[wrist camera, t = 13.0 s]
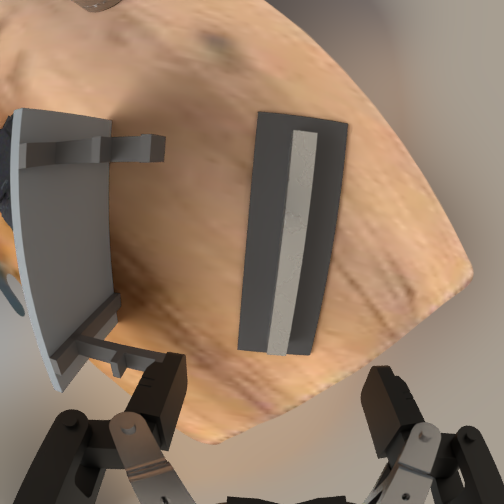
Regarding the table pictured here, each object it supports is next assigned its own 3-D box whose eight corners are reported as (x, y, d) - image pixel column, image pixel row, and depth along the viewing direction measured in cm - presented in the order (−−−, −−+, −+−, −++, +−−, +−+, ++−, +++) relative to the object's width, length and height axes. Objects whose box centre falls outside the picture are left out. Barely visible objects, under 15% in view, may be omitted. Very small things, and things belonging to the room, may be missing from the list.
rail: (291, 132, 30) (293, 129, 27) (313, 135, 30) (317, 133, 27) (267, 340, 38) (266, 354, 35) (284, 342, 38) (285, 355, 35)
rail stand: (104, 121, 30) (14, 110, 15) (199, 117, 30) (143, 86, 15) (111, 321, 39) (54, 389, 24) (191, 335, 39) (156, 422, 24)
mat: (258, 112, 30) (258, 111, 29) (346, 124, 30) (347, 123, 29) (237, 347, 39) (237, 349, 38) (309, 353, 39) (309, 355, 38)
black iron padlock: (39, 262, 38) (21, 273, 33) (-19, 176, 34) (-37, 180, 29) (81, 190, 34) (60, 195, 29) (14, 104, 30) (-6, 103, 25)
